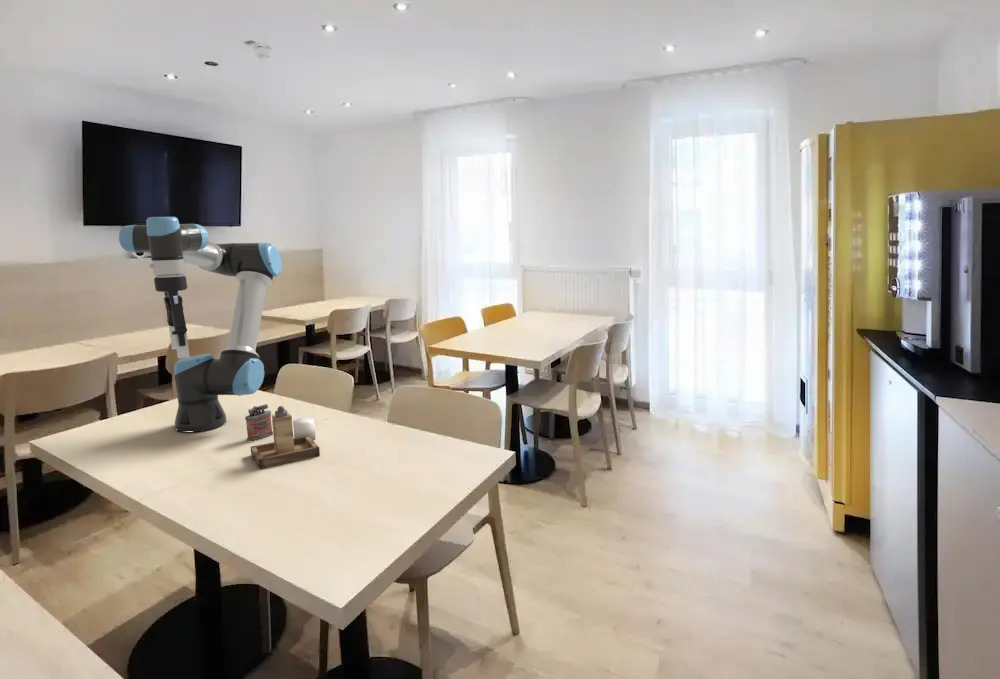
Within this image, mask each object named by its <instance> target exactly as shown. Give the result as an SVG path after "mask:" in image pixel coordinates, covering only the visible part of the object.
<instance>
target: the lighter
mask: <svg viewBox="0 0 1000 679" xmlns="http://www.w3.org/2000/svg"><path fill="white" fill-rule="evenodd" d="M266 409H269V404H267V403H266V404H265V403H264V404H261V405H259V406H258V405H255V406H253V407H252V408H248V409H247V410H248V411H247V412H248V415H246V416H245V417H244V420H245V421H246V422H245V423H246V432H247V434H246V435H247V439H246V440H247V442H249V441H252V442H256V441H259V439H260V440H264V439H267V438H269V437H271V435H272V436H274V435H273V425H272V412H271V410H266ZM263 438H264V439H263ZM255 440H256V441H255Z"/></svg>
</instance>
